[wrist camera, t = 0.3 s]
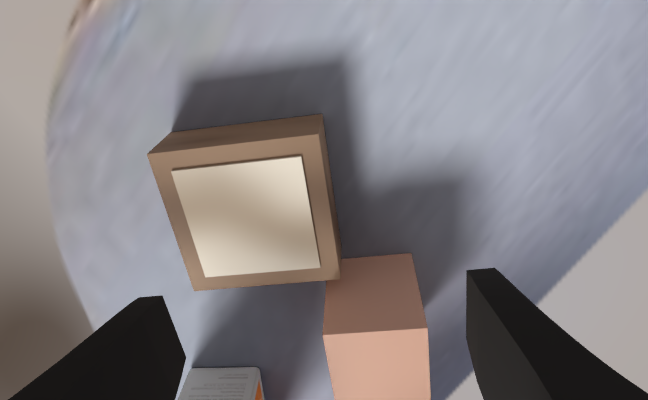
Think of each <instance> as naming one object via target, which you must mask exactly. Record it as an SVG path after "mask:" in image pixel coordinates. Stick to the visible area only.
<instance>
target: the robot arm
mask: <svg viewBox="0 0 648 400" xmlns="http://www.w3.org/2000/svg"><path fill="white" fill-rule="evenodd" d="M466 339H467V343H468V347H469V351H470V355H471V359H472V363H473V367H474V371H475V375H476V379H477V382H478V385H479V388H480V390H481V393H482V396H483V399H484V400H648V393H646V392H645V391H643V390H642V389H640V388H639V387H637V386H636V385H635V384H633V383H632V382H630V381H629V380H627V379H626V378H624V377H623V376H621V375H620V374H619V373H617V372H616V371H615V370H613V369H612V368H611V367H609V366H608V365H607V364H605V363H604V362H602V361H601V360H600V359H599V358H597V357H596V356H595V355H594V354H592V353H591V352H590V351H588V350H587V349H586V348H585V347H583V346H582V345H581V344H580V343H579V342H577V341H576V340H575V339H574V338H572V337H571V336H570V335H569V334H568V333H566V332H565V331H564V330H563V329H562V328H561V327H559V326H558V325H557V324H556V323H555V322H554V321H552V320H551V319H550V318H549V317H548V316H547V315H545V314H544V313H543V312H542V311H541V310H540V309H539V308H538V307H536V306H535V305H534V304H533V303H532V302H531V301H530V300H529V299H528V298H527V297H526V296H524V295H523V294H522V293H521V292H520V291H519V290H518V289H517V288H516V287H515V286H514V285H513V284H512V283H511V282H510V281H509V280H508V279H506V278H505V277H504V276H503V275H502V274H501V273H500V272H499V271H498V270H497V269H495V268H488V269H476V270H467V308H466ZM185 360H186V356H185V353H184V351H183V348H182V345H181V343H180V340H179V338H178V335H177V332H176V330H175V327H174V325H173V322H172V320H171V317H170V314H169V312H168V309H167V307H166V304H165V301H164V299H163V296H152V297H140V298H137V299H136V300H135V301H133V302H132V303H130V304H129V305H128V306H126V307H125V308H124V309H122V310H121V311H120V312H119V313H117V314H116V315H115V316H114V317H112V318H111V319H110V320H109V321H108V322H106V323H105V324H104V325H103V326H101V327H100V328H99V329H98V330H97V331H95V332H94V333H93V334H92V335H91V336H89V337H88V338H87V339H85V340H84V341H83V342H82V343H81V344H79V345H78V346H77V347H76V348H74V349H73V350H72V351H71V352H70V353H69V354H67V355H66V356H65V357H63V358H62V359H61V360H60V361H58V362H57V363H56V364H54V365H53V366H52V367H51V368H49V369H48V370H47V371H45V372H44V373H43V374H41V375H40V376H39V377H37V378H36V379H35V380H34V381H32V382H31V383H30V384H28V385H27V386H26V387H24V388H23V389H22V390H20V391H19V392H18V393H17V394H15V395H14V396H13V397H11V398H10V399H8V400H175V398H176V394H177V391H178V387H179V383H180V380H181V376H182V372H183V368H184V364H185Z"/></svg>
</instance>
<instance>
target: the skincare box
mask: <svg viewBox="0 0 648 400" xmlns="http://www.w3.org/2000/svg"><path fill="white" fill-rule="evenodd" d="M178 400H265V399H264V393H263V387H262V381H261V375H260V370H259V368H257V367H237V368H192V369H190V371H189V373H188V375H187V378H186V380H185V383H184V385H183V388H182V391H181V393H180V396H179V398H178Z"/></svg>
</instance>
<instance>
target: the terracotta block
mask: <svg viewBox="0 0 648 400" xmlns="http://www.w3.org/2000/svg"><path fill="white" fill-rule="evenodd" d="M323 340H324V346H325V351H326V356H327V361H328V367H329V372H330V377H331V383H332V388H333V393H334V398H335V400H431V393H430V370H429V347H428V327H427V323H426V318H425V314H424V309H423V304H422V300H421V295H420V291H419V286H418V281H417V277H416V272H415V268H414V263H413V259H412V254H411V253H406V254H394V255H382V256H371V257H359V258H347V259H341V279H337V280H327V281H326V294H325V308H324V322H323Z"/></svg>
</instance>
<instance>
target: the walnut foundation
mask: <svg viewBox="0 0 648 400" xmlns="http://www.w3.org/2000/svg"><path fill="white" fill-rule="evenodd" d="M147 156H148V159H149V162H150V165H151V168H152V171H153V173H154V176H155V179H156V182H157V185H158V188H159V191H160V194H161V197H162V200H163V202H164V205H165V208H166V211H167V214H168V217H169V220H170V223H171V226H172V229H173V231H174V234H175V237H176V240H177V243H178V246H179V249H180V252H181V255H182V257H183V260H184V263H185V266H186V269H187V272H188V275H189V278H190V281H191V284H192V286H193V289H194V291H201V290H214V289H226V288H238V287H251V286H263V285H275V284H288V283H300V282H312V281H325V280H337V279H341V240H340V233H339V226H338V219H337V212H336V205H335V198H334V191H333V185H332V178H331V171H330V164H329V157H328V150H327V143H326V136H325V129H324V123H323V116H322V114H317V115H308V116H300V117H292V118H284V119H276V120H268V121H260V122H251V123H243V124H235V125H227V126H219V127H211V128H202V129H194V130H186V131H178V132H171V133H170V134H168V135H167V136H166V137H165V138H164V139H163V140H162V141H161V142H160V143H159V144H158V145H156V146H155V147H154V148H153V149H152V150H151V151H150V152H149V153H148V154H147Z"/></svg>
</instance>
